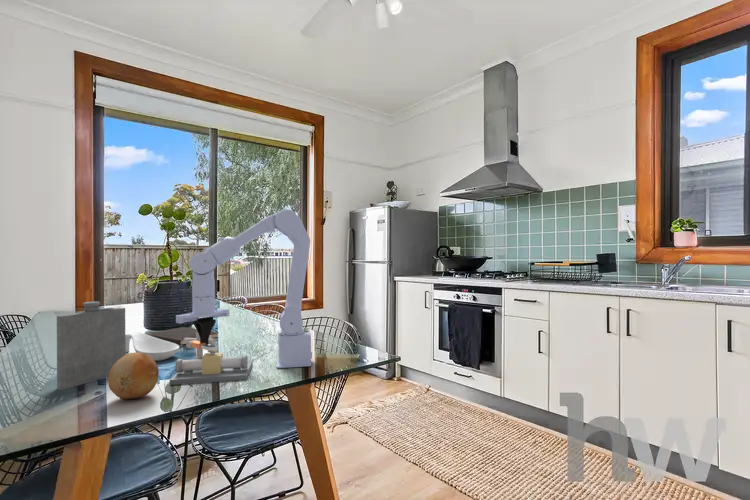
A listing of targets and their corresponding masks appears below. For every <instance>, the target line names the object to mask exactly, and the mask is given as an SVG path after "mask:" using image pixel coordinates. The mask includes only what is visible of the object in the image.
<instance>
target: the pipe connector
mask: <svg viewBox="0 0 750 500" xmlns="http://www.w3.org/2000/svg"><path fill="white" fill-rule="evenodd" d="M193 341H200V337H199V334H198V332H197V330H196V338H184V340H183V343H185V344H184V345H186V348H188V349H190V348H192V347H191V342H193ZM216 342H217V340H216V339H215V338H212V337H211V336H209V342H208V345H216ZM195 349H196V348H195ZM203 354H204V349H196V358H195V359H202V357H203V356H204V355H203Z"/></svg>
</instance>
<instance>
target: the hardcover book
mask: <svg viewBox="0 0 750 500" xmlns="http://www.w3.org/2000/svg"><path fill="white" fill-rule="evenodd" d="M145 334H146V335H149V336H152V337H155V338H158V339H161V340H165V341H168V342H172V343H175V344H177V345H178V346H182V345H186V344H185V343H183V340H184V338H196V328H193V327H185V326H180V327H175V328H171V329H170V328H169V329H165V330H159V331H153V332H146V333H145ZM218 334H219V332H218V331H213V330H212V331H211V333H210V336H211V337H212V339H215V338H218Z"/></svg>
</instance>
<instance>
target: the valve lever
mask: <svg viewBox="0 0 750 500" xmlns="http://www.w3.org/2000/svg"><path fill="white" fill-rule="evenodd" d="M191 348H194V349H203V350H206V351H207V353H210V352H215V353H218V350H219V349H218V345H216V344H214V345H210V344H208V345H206V343H204V342H200V341H193V342H191Z"/></svg>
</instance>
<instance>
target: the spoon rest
mask: <svg viewBox="0 0 750 500" xmlns="http://www.w3.org/2000/svg"><path fill="white" fill-rule="evenodd" d="M131 340H132V345H133V348H134V351H135V353H144V354H147V355H149V356H150V357H151V358H152V359H153V360H154V361H155V362H159V361H160V362H161V361H163V360H164V361H166V360H168V359H169V358H171V357H173V356H174V355H176V353H177V352H178V351H179V350H180V345H177V344H175V343H172V342H168V341H165V340H161V339H158V338H155V337H152V336H149V335H146V333H143V332H134V333H128V334H127V333H125V348H126V353H129V352H130V341H131Z"/></svg>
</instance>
